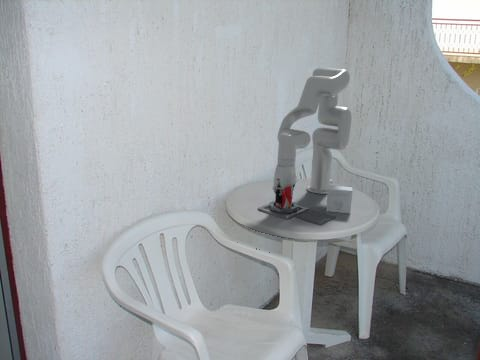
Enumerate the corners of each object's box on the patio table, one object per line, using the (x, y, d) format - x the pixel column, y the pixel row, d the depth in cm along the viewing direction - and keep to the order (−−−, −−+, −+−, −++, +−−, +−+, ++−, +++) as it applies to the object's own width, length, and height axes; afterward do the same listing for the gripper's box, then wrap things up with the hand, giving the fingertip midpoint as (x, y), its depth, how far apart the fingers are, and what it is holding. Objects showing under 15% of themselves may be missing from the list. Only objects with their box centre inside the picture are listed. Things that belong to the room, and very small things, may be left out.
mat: (311, 210, 203) (311, 209, 203) (335, 217, 196) (335, 216, 195) (296, 217, 194) (296, 215, 194) (320, 225, 187) (320, 223, 187)
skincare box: (349, 208, 207) (352, 186, 204) (350, 214, 201) (352, 191, 198) (326, 206, 209) (328, 184, 206) (325, 211, 203) (328, 188, 200)
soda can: (290, 213, 198) (292, 187, 195) (274, 211, 200) (275, 185, 196) (291, 208, 205) (293, 182, 201) (276, 206, 206) (277, 180, 203)
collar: (279, 201, 213) (279, 196, 212) (308, 210, 203) (309, 204, 202) (257, 209, 202) (257, 204, 201) (287, 219, 192) (287, 214, 191)
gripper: (291, 156, 204) (288, 194, 210) (266, 163, 192) (264, 203, 197) (305, 160, 200) (302, 198, 205) (281, 167, 187) (278, 208, 192)
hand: (283, 200), depth 201 cm, fingers closed on soda can, 6 cm apart
